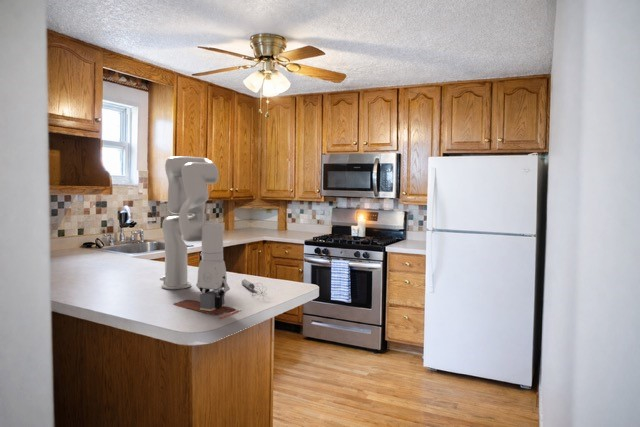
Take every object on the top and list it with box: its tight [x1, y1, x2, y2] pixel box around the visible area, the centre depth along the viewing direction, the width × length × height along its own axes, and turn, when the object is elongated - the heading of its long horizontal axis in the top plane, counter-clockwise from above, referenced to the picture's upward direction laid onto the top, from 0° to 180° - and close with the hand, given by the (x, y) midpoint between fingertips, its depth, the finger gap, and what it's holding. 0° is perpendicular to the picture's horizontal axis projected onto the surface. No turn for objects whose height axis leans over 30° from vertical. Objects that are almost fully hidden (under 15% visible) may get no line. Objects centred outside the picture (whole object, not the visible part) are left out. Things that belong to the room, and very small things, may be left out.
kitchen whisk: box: [241, 278, 268, 300], centre depth 190 cm, size 6×34×6 cm, turn 23°
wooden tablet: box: [172, 299, 237, 316], centre depth 166 cm, size 27×10×2 cm, turn 56°
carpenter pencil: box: [219, 309, 242, 320], centre depth 156 cm, size 1×12×1 cm, turn 155°
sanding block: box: [199, 289, 225, 311], centre depth 161 cm, size 4×8×6 cm, turn 155°
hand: (212, 306), depth 161 cm, fingers closed on sanding block, 4 cm apart
